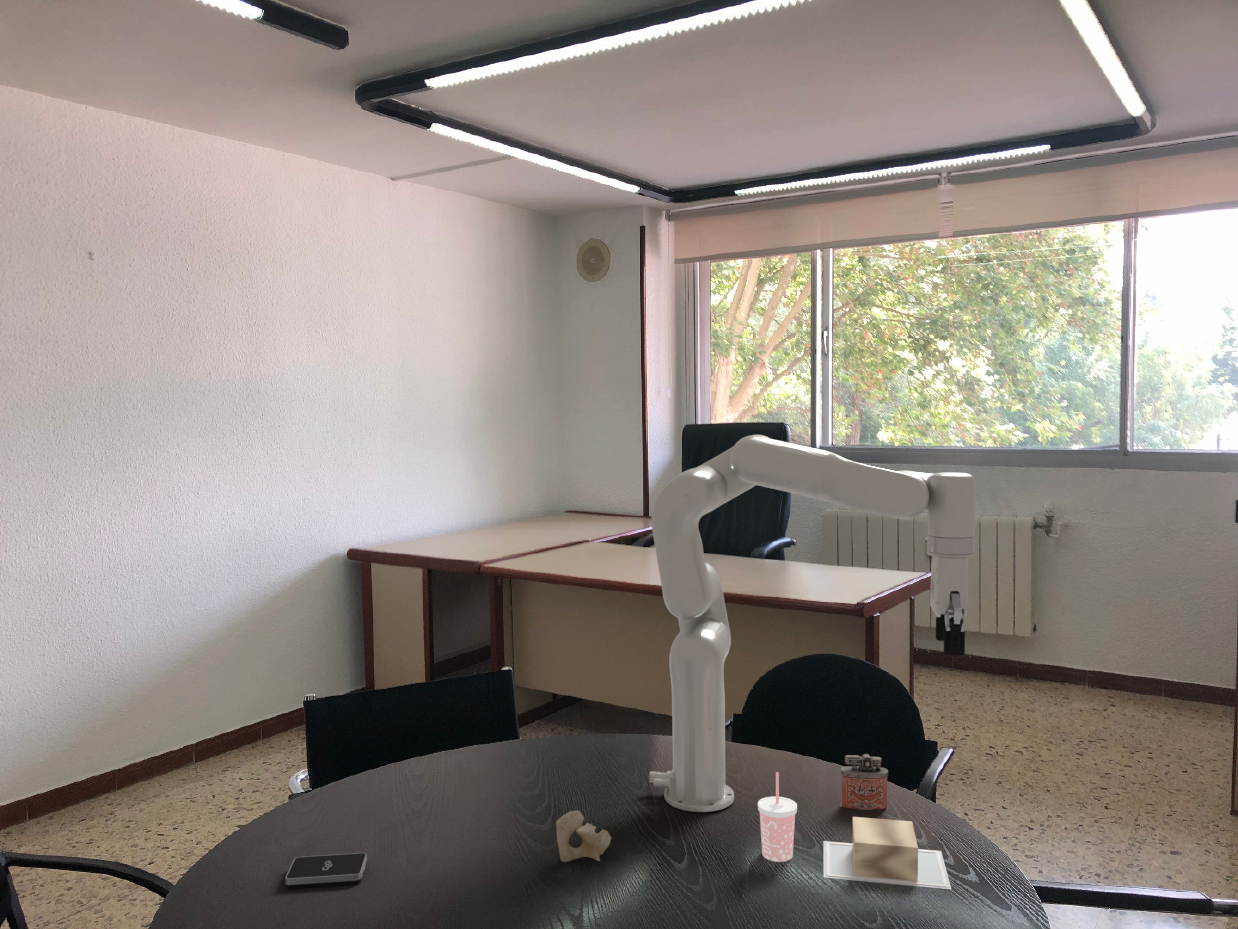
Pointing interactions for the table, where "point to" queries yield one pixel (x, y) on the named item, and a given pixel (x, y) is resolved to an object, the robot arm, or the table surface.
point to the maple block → (885, 849)
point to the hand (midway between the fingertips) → (949, 647)
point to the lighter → (864, 783)
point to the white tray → (842, 867)
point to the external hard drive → (326, 870)
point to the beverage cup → (777, 826)
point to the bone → (591, 841)
